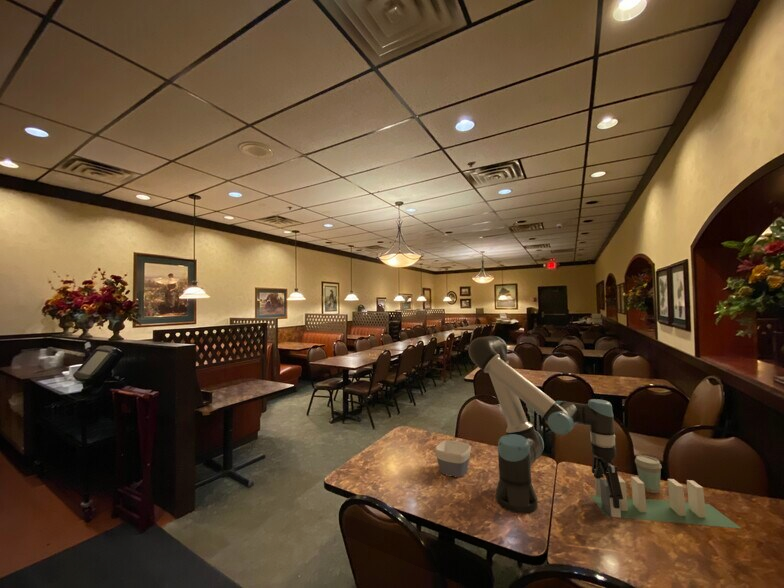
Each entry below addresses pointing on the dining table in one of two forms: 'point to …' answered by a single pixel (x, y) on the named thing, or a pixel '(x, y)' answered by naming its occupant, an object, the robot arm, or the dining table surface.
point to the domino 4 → (696, 498)
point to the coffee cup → (649, 473)
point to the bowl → (453, 457)
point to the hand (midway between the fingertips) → (607, 506)
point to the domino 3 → (676, 497)
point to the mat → (671, 513)
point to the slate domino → (605, 496)
